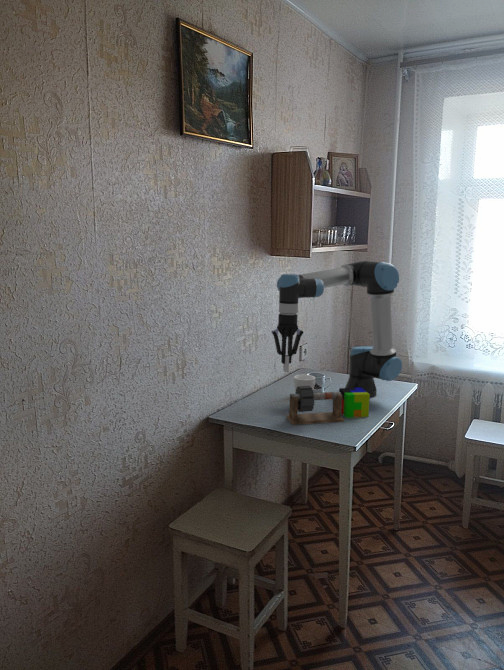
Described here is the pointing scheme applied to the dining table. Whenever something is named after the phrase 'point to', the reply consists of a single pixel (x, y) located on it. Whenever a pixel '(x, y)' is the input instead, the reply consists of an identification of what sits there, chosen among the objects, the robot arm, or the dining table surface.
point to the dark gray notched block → (305, 398)
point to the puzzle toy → (355, 402)
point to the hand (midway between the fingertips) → (285, 371)
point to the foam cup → (304, 381)
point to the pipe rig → (316, 417)
